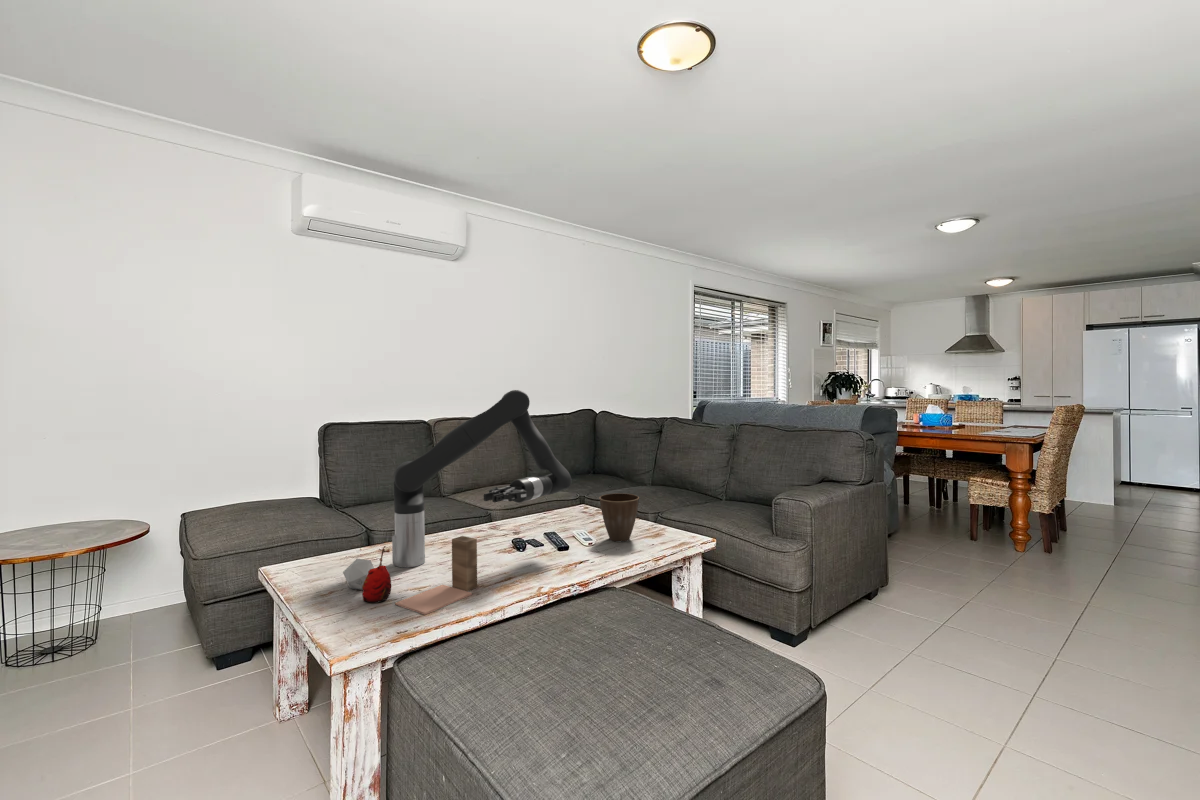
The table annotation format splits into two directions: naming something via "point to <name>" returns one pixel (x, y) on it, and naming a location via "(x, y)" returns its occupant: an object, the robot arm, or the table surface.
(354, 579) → the die
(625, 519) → the plant pot
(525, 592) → the table surface
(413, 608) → the felt mat
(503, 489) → the robot arm
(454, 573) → the walnut block
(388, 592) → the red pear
